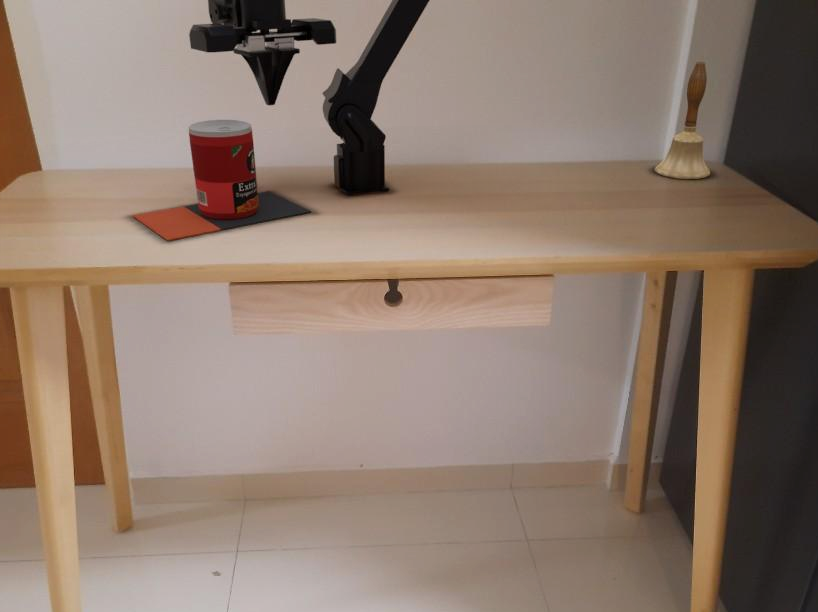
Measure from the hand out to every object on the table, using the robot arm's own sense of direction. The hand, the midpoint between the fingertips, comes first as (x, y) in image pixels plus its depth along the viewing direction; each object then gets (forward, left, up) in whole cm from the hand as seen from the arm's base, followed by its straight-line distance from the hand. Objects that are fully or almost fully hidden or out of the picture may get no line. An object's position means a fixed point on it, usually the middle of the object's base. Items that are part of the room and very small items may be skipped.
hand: (270, 104), depth 105 cm
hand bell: (-62, +11, -12) cm, 64 cm away
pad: (+15, +9, -12) cm, 22 cm away
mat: (+6, +7, -12) cm, 15 cm away
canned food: (+8, +7, -12) cm, 16 cm away
